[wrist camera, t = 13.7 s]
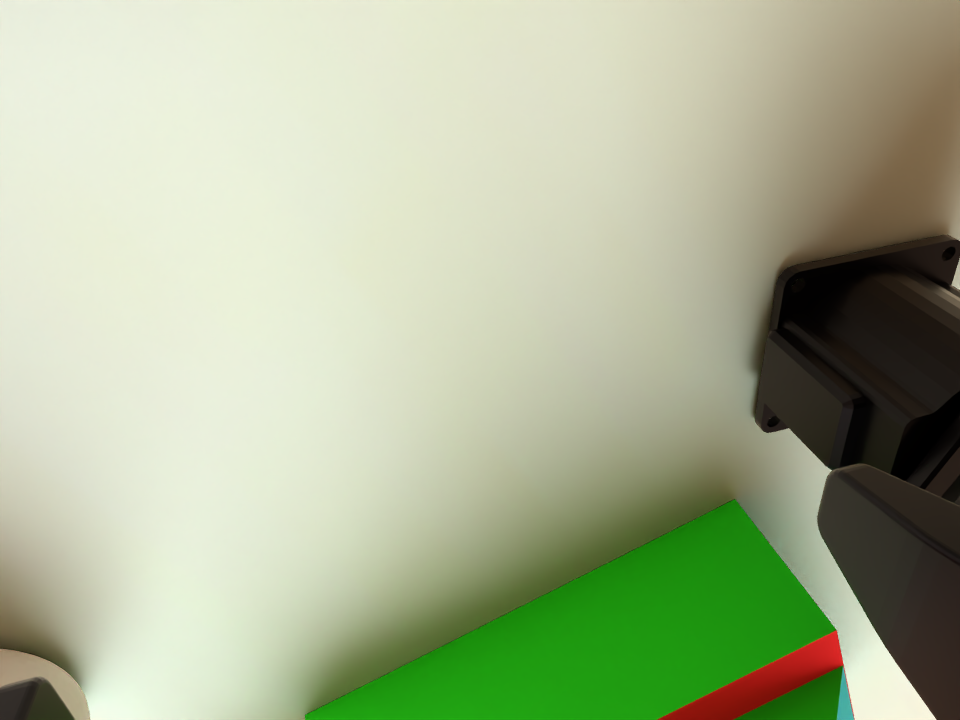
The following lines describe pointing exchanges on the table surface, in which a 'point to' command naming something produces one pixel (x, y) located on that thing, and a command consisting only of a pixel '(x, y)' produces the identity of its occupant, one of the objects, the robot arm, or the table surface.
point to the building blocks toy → (637, 644)
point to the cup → (21, 666)
